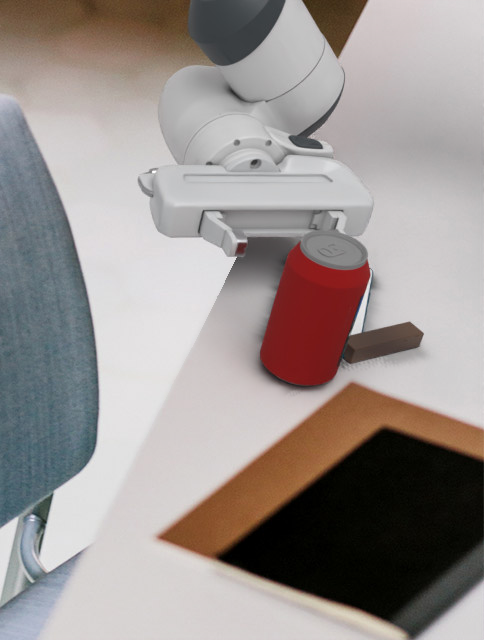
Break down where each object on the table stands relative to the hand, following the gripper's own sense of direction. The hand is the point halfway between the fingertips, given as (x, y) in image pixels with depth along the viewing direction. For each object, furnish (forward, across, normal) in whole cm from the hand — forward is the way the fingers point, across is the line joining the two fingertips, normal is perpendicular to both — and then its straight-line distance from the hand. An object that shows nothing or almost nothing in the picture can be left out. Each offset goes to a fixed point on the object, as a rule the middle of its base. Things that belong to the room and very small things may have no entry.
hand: (289, 249), depth 102 cm
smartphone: (-3, +6, +8) cm, 11 cm away
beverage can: (+7, 0, +8) cm, 10 cm away
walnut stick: (+4, +9, +8) cm, 12 cm away
